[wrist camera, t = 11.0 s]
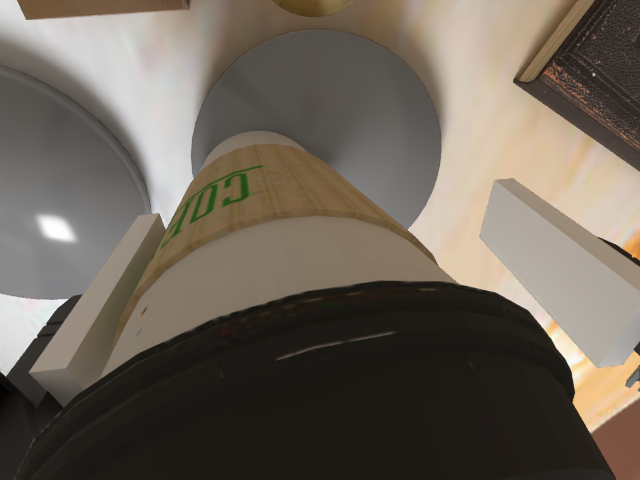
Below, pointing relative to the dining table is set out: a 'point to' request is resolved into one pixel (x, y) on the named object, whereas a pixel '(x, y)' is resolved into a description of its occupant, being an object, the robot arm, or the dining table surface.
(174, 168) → the dining table surface
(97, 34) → the dining table surface
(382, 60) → the dish low side
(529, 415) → the coffee cup
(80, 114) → the grey flat disc
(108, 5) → the balance
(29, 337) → the dining table surface
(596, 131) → the hardcover book
